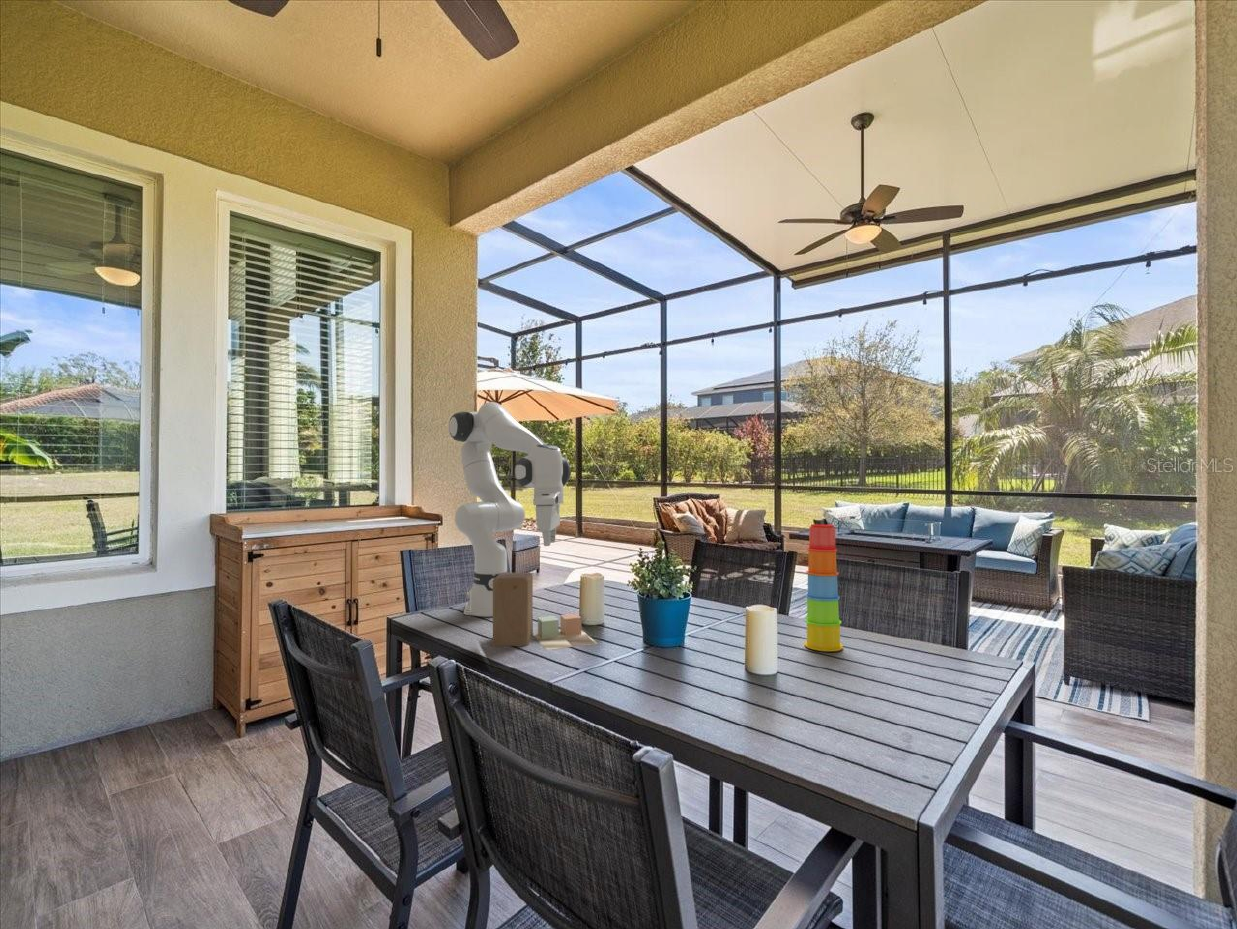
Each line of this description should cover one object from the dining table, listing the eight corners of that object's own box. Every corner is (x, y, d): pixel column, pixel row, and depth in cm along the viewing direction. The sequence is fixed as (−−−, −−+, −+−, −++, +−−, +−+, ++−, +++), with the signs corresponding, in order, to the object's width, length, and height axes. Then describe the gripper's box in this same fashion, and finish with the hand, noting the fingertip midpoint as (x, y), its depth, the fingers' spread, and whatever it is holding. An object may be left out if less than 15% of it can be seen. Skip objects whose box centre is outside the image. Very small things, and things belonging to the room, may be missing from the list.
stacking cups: (797, 646, 165) (797, 524, 165) (816, 639, 172) (815, 522, 172) (831, 655, 158) (830, 527, 158) (849, 647, 165) (849, 525, 165)
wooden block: (527, 650, 163) (527, 578, 163) (492, 650, 163) (491, 578, 163) (533, 639, 173) (533, 572, 173) (499, 639, 173) (499, 572, 173)
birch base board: (531, 637, 175) (531, 633, 175) (579, 631, 181) (579, 627, 181) (546, 654, 159) (546, 649, 159) (598, 647, 165) (598, 643, 165)
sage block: (537, 634, 174) (537, 617, 174) (554, 632, 176) (554, 615, 176) (542, 638, 170) (542, 621, 170) (558, 636, 171) (558, 619, 171)
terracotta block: (560, 631, 177) (560, 615, 177) (576, 629, 179) (576, 613, 179) (565, 636, 172) (565, 619, 172) (581, 634, 174) (581, 617, 174)
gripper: (544, 497, 186) (545, 540, 186) (532, 499, 166) (533, 548, 165) (563, 496, 186) (564, 540, 185) (554, 498, 165) (555, 547, 165)
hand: (549, 544), depth 175 cm, fingers open, 8 cm apart
